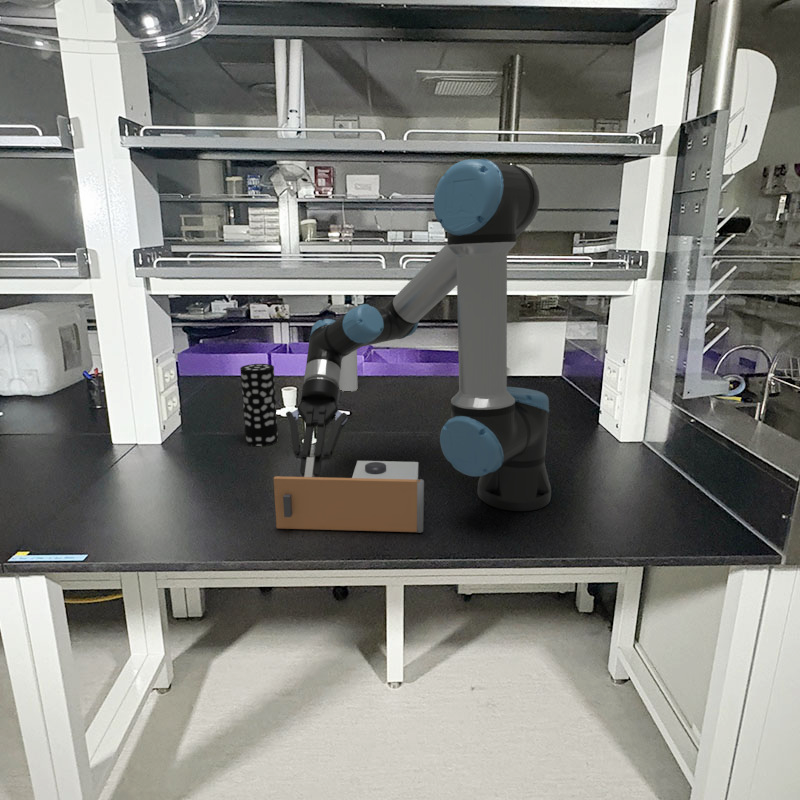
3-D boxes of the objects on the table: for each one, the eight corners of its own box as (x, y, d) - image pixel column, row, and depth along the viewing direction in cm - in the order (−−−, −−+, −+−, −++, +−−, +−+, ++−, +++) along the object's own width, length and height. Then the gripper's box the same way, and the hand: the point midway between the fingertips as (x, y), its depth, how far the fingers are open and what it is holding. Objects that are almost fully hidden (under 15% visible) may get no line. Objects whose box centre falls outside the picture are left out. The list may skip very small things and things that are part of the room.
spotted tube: (280, 435, 160) (276, 363, 154) (275, 446, 152) (270, 370, 146) (249, 436, 159) (244, 363, 154) (242, 446, 151) (236, 371, 146)
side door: (423, 529, 109) (424, 479, 106) (423, 535, 107) (423, 484, 104) (278, 525, 110) (275, 475, 108) (274, 531, 108) (271, 481, 105)
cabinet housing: (417, 508, 118) (418, 458, 115) (416, 530, 109) (417, 476, 106) (358, 506, 119) (357, 456, 116) (352, 528, 110) (351, 475, 107)
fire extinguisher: (330, 385, 210) (330, 316, 203) (363, 387, 210) (364, 317, 202) (326, 391, 204) (326, 319, 196) (361, 392, 203) (362, 321, 196)
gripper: (353, 395, 128) (343, 498, 117) (294, 393, 129) (278, 496, 118) (349, 377, 122) (338, 485, 111) (287, 376, 123) (270, 483, 111)
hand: (307, 490), depth 114 cm, fingers closed
